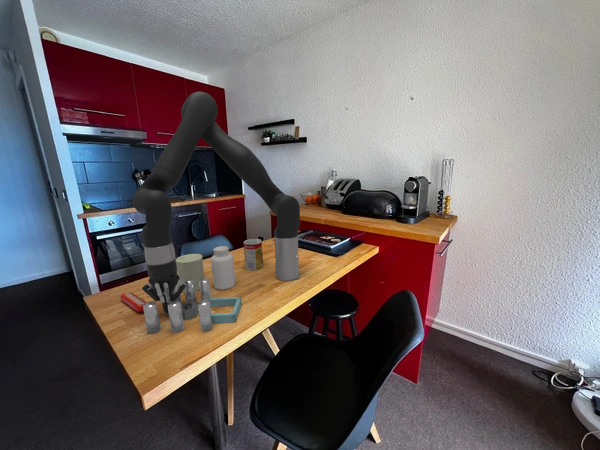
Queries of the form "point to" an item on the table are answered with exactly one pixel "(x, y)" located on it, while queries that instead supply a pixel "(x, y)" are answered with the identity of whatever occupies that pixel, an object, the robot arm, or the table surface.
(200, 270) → the can
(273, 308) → the table surface
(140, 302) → the candy bar
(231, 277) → the pill bottle
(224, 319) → the corral
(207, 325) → the spacers
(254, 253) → the canned food
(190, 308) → the nut
